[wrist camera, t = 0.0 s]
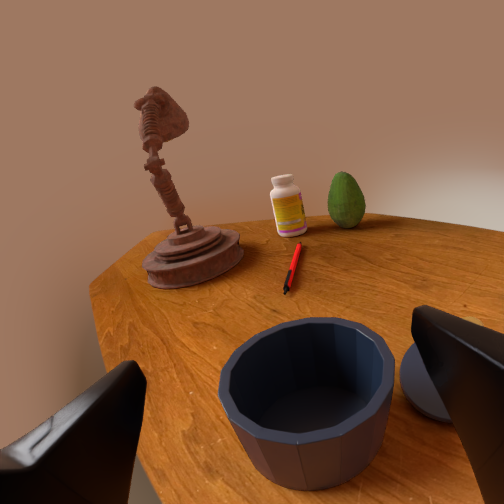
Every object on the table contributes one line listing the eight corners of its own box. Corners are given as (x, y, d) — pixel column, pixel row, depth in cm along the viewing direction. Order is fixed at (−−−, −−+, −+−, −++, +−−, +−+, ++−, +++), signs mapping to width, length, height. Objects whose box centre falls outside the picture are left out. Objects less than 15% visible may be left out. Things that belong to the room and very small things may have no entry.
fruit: (353, 235, 54) (344, 174, 50) (324, 230, 60) (314, 175, 56) (374, 223, 57) (367, 168, 53) (346, 219, 64) (338, 168, 60)
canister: (399, 468, 13) (423, 409, 10) (246, 498, 14) (209, 453, 11) (363, 372, 22) (363, 304, 20) (248, 396, 23) (226, 332, 21)
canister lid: (527, 389, 12) (551, 339, 10) (425, 449, 13) (446, 405, 11) (470, 324, 22) (478, 277, 21) (382, 357, 23) (384, 308, 22)
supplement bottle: (310, 233, 60) (300, 174, 56) (280, 240, 60) (268, 180, 56) (303, 225, 67) (293, 172, 62) (276, 231, 67) (264, 178, 62)
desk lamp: (234, 230, 76) (199, 85, 63) (255, 278, 46) (196, 34, 33) (159, 251, 74) (121, 109, 61) (134, 309, 44) (69, 79, 31)
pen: (282, 296, 38) (280, 289, 38) (298, 244, 55) (297, 239, 55) (288, 296, 38) (287, 288, 38) (302, 244, 55) (302, 238, 55)
